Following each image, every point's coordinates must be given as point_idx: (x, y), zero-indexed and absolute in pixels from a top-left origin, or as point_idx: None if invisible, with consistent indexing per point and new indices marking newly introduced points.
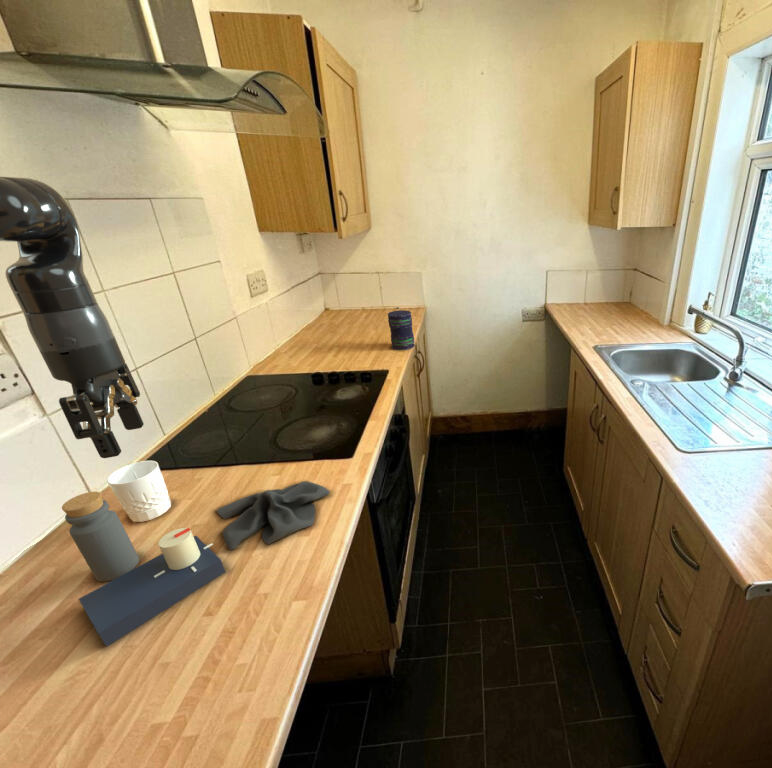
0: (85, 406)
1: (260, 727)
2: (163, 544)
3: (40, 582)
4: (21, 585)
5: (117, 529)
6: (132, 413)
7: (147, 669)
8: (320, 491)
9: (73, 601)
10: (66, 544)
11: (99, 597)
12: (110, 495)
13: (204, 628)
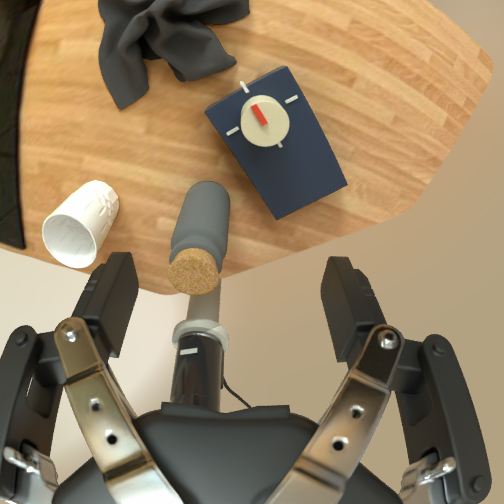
0: (483, 454)
1: (481, 60)
2: (277, 137)
3: None
4: None
5: (206, 214)
6: (112, 307)
7: (391, 134)
8: None
9: (248, 227)
10: (142, 266)
11: (287, 199)
12: None
13: (370, 86)
